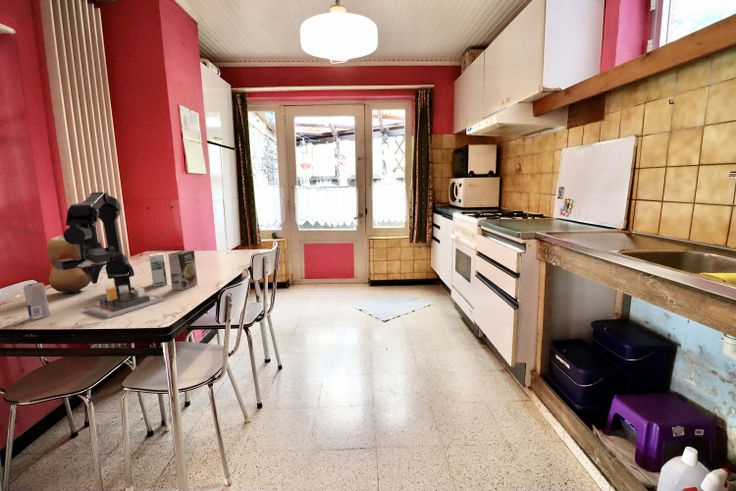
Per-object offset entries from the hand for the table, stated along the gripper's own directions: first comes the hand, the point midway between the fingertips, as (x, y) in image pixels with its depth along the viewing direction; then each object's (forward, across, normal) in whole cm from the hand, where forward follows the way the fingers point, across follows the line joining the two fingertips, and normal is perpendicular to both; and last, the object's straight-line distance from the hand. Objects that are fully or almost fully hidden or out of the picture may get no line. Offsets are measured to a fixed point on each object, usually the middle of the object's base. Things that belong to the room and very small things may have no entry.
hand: (94, 283), depth 125 cm
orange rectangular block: (+8, +5, 0) cm, 9 cm away
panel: (+11, +9, 0) cm, 14 cm away
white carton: (+12, -11, +17) cm, 23 cm away
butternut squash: (+11, +10, +40) cm, 43 cm away
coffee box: (+11, +35, +1) cm, 37 cm away
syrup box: (+11, +33, +16) cm, 39 cm away
